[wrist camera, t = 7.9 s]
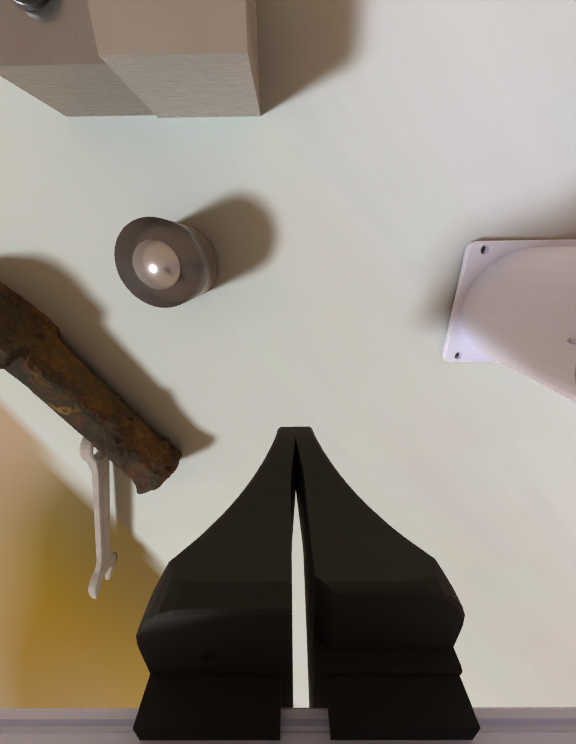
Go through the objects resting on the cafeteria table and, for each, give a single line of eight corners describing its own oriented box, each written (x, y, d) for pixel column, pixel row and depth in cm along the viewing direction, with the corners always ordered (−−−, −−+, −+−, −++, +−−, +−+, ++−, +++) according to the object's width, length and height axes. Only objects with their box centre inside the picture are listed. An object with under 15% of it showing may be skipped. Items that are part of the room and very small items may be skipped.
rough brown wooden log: (191, 449, 24) (170, 490, 20) (156, 467, 25) (129, 510, 21) (11, 246, 18) (-76, 244, 14) (-29, 279, 19) (-122, 286, 14)
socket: (213, 223, 17) (192, 215, 13) (222, 296, 19) (204, 307, 15) (143, 225, 17) (101, 217, 13) (158, 297, 19) (124, 309, 15)
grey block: (254, -26, 13) (235, -188, 8) (260, 116, 15) (247, 53, 10) (136, -23, 13) (48, -184, 8) (158, 118, 15) (98, 55, 10)
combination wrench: (71, 442, 20) (83, 604, 27) (89, 445, 20) (96, 606, 27) (102, 415, 23) (106, 565, 31) (118, 418, 24) (117, 567, 31)
